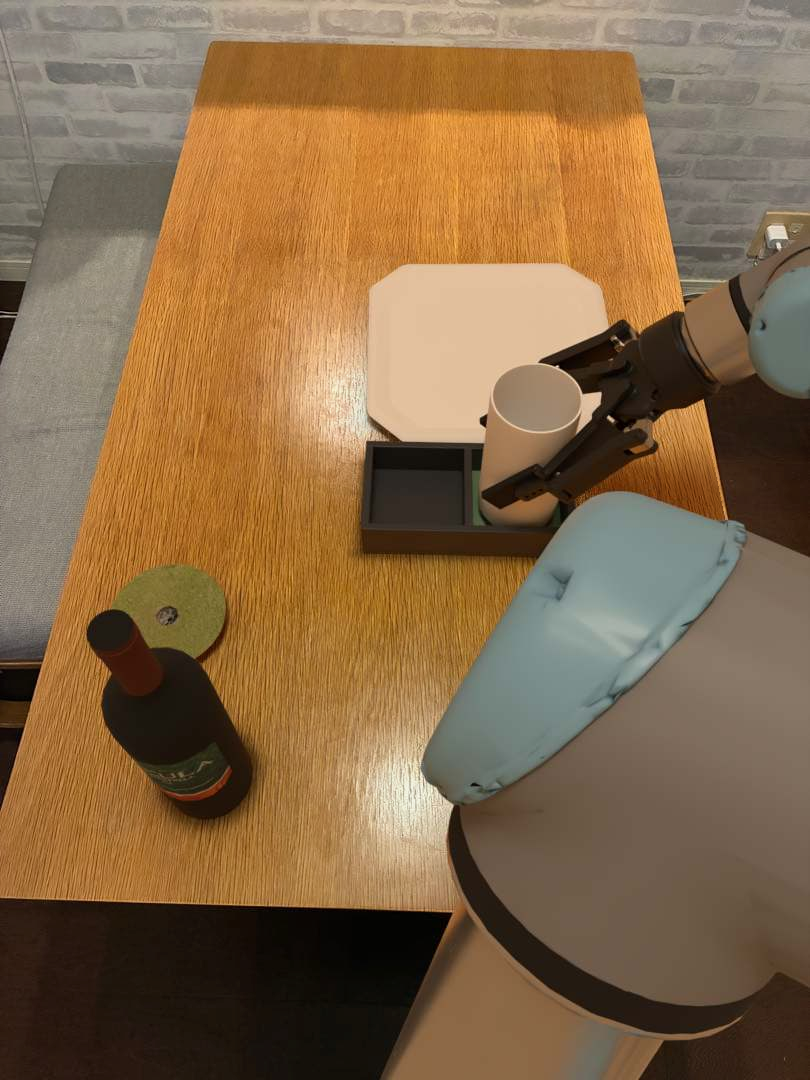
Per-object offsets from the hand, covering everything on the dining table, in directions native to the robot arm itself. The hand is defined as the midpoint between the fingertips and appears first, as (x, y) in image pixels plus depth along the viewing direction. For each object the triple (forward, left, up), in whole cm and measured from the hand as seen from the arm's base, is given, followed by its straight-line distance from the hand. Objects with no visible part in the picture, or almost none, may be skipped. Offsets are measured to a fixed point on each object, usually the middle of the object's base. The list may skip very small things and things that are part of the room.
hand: (489, 462), depth 83 cm
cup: (0, -3, -6) cm, 7 cm away
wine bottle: (-29, +25, -9) cm, 39 cm away
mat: (-14, +31, -9) cm, 35 cm away
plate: (+22, -1, -9) cm, 24 cm away
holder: (0, +2, -8) cm, 9 cm away
